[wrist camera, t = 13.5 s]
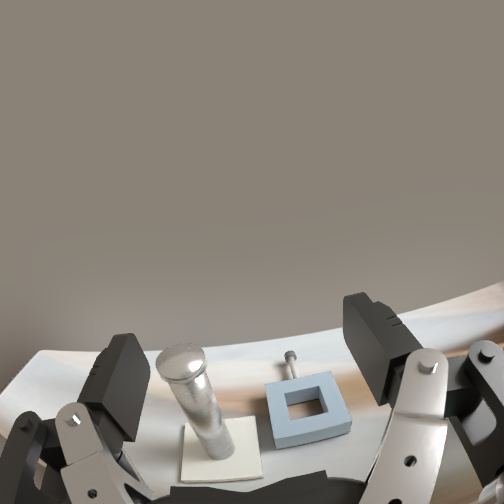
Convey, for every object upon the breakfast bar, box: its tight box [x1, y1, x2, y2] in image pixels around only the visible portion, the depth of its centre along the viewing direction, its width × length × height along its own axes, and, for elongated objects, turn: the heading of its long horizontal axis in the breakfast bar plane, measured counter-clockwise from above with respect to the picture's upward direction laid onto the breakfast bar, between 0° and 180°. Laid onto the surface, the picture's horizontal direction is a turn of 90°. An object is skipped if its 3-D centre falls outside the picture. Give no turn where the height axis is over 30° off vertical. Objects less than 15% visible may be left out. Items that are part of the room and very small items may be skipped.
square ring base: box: [265, 351, 352, 449], centre depth 37 cm, size 10×17×3 cm, turn 5°
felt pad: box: [181, 416, 263, 482], centre depth 30 cm, size 10×10×1 cm
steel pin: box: [156, 343, 235, 460], centre depth 26 cm, size 5×5×17 cm
